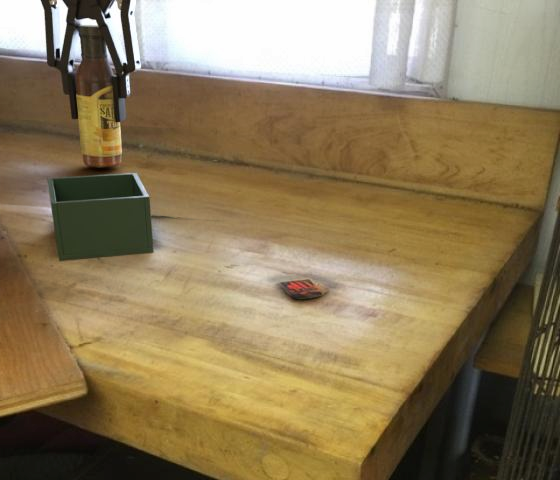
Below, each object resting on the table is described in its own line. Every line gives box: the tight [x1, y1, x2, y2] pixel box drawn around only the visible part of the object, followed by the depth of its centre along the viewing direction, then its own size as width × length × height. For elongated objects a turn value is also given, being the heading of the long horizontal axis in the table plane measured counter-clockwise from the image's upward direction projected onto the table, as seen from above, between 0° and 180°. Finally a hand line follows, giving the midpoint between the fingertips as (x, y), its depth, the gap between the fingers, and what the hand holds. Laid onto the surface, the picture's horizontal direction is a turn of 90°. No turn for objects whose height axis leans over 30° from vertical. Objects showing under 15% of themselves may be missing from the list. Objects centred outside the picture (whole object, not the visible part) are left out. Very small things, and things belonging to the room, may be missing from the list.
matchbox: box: [275, 277, 329, 301], centre depth 73 cm, size 5×5×1 cm
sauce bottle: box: [76, 24, 123, 169], centre depth 106 cm, size 7×6×20 cm
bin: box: [46, 172, 154, 261], centre depth 83 cm, size 11×11×7 cm
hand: (99, 118), depth 108 cm, fingers closed on sauce bottle, 6 cm apart
